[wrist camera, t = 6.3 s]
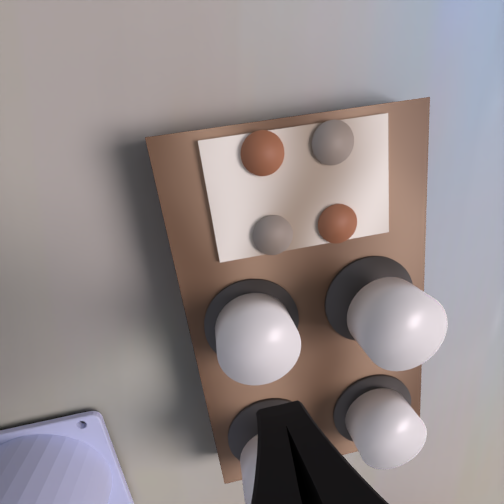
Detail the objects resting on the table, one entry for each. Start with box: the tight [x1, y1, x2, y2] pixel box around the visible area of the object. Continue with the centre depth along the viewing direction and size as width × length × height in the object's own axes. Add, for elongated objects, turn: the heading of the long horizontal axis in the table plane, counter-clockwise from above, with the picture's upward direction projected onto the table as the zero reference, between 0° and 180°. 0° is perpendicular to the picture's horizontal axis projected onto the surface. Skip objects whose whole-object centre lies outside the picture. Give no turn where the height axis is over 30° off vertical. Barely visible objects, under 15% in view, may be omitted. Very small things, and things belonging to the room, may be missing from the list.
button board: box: [145, 97, 430, 484], centre depth 17 cm, size 12×19×2 cm, turn 8°
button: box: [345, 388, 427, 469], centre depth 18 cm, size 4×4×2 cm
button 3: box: [347, 277, 448, 371], centre depth 14 cm, size 4×4×2 cm
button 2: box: [215, 293, 301, 385], centre depth 15 cm, size 4×4×2 cm
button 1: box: [240, 434, 258, 504], centre depth 16 cm, size 4×4×2 cm
